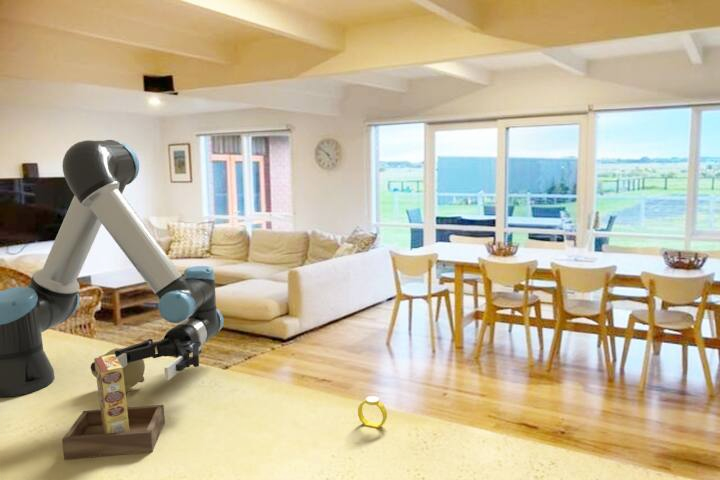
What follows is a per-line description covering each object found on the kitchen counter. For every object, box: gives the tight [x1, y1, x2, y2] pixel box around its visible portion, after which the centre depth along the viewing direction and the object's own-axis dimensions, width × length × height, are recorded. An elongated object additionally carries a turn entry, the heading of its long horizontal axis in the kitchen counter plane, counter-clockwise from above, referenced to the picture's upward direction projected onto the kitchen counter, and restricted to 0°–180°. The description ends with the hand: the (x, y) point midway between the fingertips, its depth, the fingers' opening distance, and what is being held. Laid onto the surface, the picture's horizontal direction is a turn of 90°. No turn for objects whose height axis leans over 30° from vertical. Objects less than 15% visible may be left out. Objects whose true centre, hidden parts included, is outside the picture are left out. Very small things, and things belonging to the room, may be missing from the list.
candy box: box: [93, 354, 130, 434], centre depth 114 cm, size 9×4×15 cm, turn 32°
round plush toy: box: [90, 347, 146, 393], centre depth 139 cm, size 10×12×11 cm
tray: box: [61, 404, 166, 461], centre depth 116 cm, size 12×16×4 cm
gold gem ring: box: [357, 395, 388, 429], centre depth 119 cm, size 6×3×6 cm, turn 64°
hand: (136, 372), depth 122 cm, fingers open, 13 cm apart
